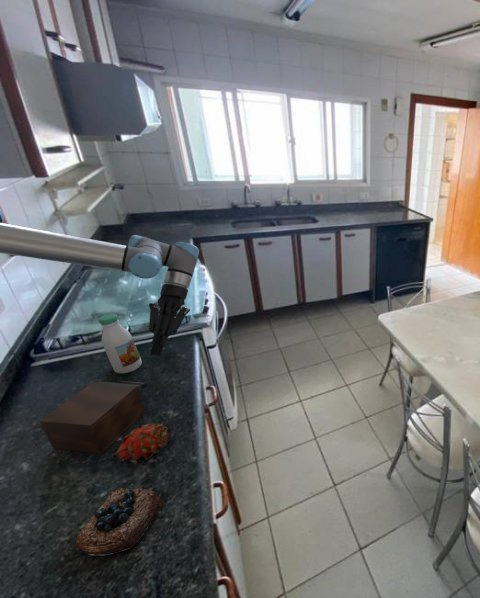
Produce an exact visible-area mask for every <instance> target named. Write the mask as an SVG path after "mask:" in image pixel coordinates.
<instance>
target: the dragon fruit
mask: <svg viewBox="0 0 480 598" xmlns="http://www.w3.org/2000/svg"><path fill="white" fill-rule="evenodd" d="M171 430H172V429H171V428H169V427H167V426H165V425H164V424H162V423H155V424H153V423H146V424H141V425H140V426H139V427H137V428H136V427H135V428H134V429H132V430H131V431H130V432H129V433H128V434H126V435H125V436H123V437H122V438H123V439H122V442H121V444H120V445H119V447H118V448H117V450H116V452H115V453H114V455H113V457H112V459H113V460H116V458H117V459H119V460H121V461H122V462H124V463H127V462H131V463H132V464H133V465H135V464H136V463H138V459H140V458H141V457H143V458H144V459H145V460H149V459H150V458H151V457H153V456H154V454H158V453H160V450H161V448H163V447H167V445H168V444H169V443H168V440H170V438H171V434H170V433H171Z"/></svg>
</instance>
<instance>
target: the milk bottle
mask: <svg viewBox="0 0 480 598" xmlns="http://www.w3.org/2000/svg"><path fill="white" fill-rule="evenodd" d="M119 321H120V320H119V317H118V315H117V314H115V313H108V314H105V315H102V316H100V317H99V318H98V323H99V325H100V327H102V334H101V344H102V347H103V349H104V351H105V354H106V356H107V359H108V360H109V363H110V365H111V367H112V369H113V371H114V372H115V373H117V374H127V373H131V372H133V371H136V370H137V369H139V368H140V367H141V366H142V363H143V361H142V358H141V356H140V352H139V350H138V348H137V345H136V343H135V341H134V339H133V336H132V334H131V333H130V332H129V330H128V329H126V328H125V327H124V326H122V324H121V323H120V322H119Z"/></svg>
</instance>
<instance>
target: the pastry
mask: <svg viewBox="0 0 480 598" xmlns="http://www.w3.org/2000/svg"><path fill="white" fill-rule="evenodd" d="M162 501H163V500H162V497H161V496H158V493H157V492H156V491H153V490H151V489H145V488H143V487H139V488H128V487H127V488H123V487H121V488H119V489H115V490H114V491H111V492H110V493H109V495H108V497H107V499H106V500H105V501H104V502H103V503H102V504H101V505H100V507H99V508H98V509H97V510H96V511H95V512H94V513H93V515H92V517H91V518H90V520H89V521H88V522H87V523H86V524H85V525H84V527H82V529H81V531H80V532H79V533H78V535H77V539H76V541H75V545H76V547H78V548H79V549H80V550H81V551H82V552H83V553H85V554H86V555H87V554H110V553H115V552H119V551H122V550H124V549H127V548H132V547H133V546H134V545H135V544H136V543H137V541H138V540H139V538H140V537H141V536H142V534H143V532H144V531H145V529H146V528H147V526H148V525H149V524H150V523H151V521H152V520H153V521H154V520H155V518H156V516H157V514H158V512H159V511H160V509H161V507H162V503H163V502H162ZM154 515H156V516H154ZM151 524H152V523H151ZM137 544H138V543H137ZM137 544H136V545H137ZM133 548H134V547H133ZM133 548H132V549H133Z"/></svg>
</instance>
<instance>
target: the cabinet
mask: <svg viewBox="0 0 480 598" xmlns="http://www.w3.org/2000/svg"><path fill="white" fill-rule="evenodd" d="M145 413H146V407H145V408H144V405H143V402H142V399H141V396H140V393H139V390H138V387H137V386H132V385H121V384H110V383H100V381H99V382H97V381H93V382H91V383H90V384H89V385H87V386H86V387H84V388H83V389H81V390H80V391H78V392H77V393H76V394H74V395H73V396H71V398H69V399H67V400H65V402H63V403H62V404H60V405H59V406H58V407H56V408H55V409H54V410H52V411H51V412H49V413H48V414H47V415H45V416H44V417H42V418H41V419H40V420H39V424H40V426H41V427H42V430H43V432H44V433H45V435H46V437H47V439H48V442H49V443H50V445H51V447H52V449H53V450H59V451H67V452H68V451H69V452H80V453H90V454H104V453H105V452H106V451H107V450H108V449H109V448H110V447H111V446H112V445H113V444H115V442H117V441H118V439H119V438H120V437H122V436H123V434H124V433H126V432H127V431H128V430H129V429H130V428H131V427H132V426H133V425H134V424H135V423H136V422H137V421H138V420H139V419H140V418H141V417H142V416H143V415H144V414H145Z"/></svg>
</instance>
